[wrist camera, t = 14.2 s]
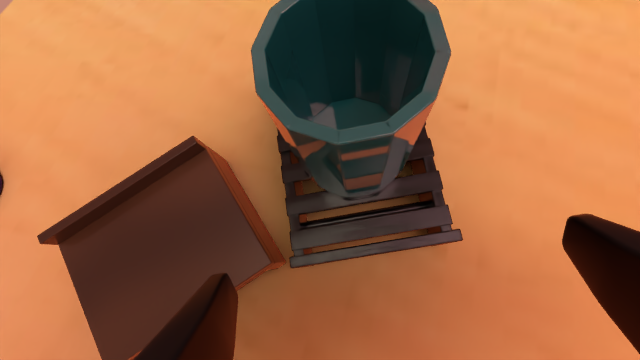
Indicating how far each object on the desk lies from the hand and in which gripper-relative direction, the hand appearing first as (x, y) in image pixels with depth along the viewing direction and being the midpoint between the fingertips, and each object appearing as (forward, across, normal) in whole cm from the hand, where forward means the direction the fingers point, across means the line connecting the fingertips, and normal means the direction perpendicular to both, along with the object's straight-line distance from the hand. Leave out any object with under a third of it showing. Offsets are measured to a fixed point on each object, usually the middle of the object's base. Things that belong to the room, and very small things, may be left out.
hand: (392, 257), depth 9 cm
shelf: (+11, +13, +8) cm, 18 cm away
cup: (+11, 0, +2) cm, 11 cm away
